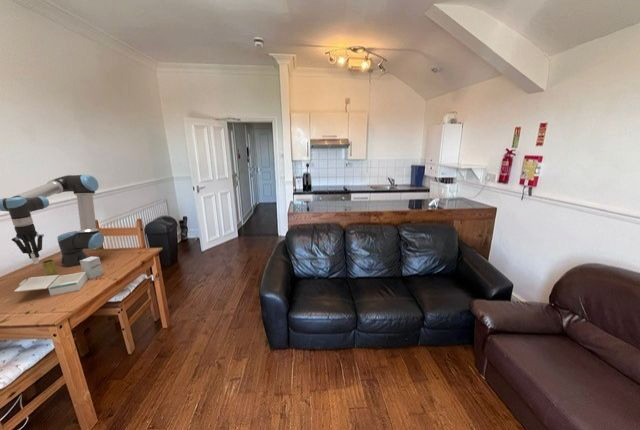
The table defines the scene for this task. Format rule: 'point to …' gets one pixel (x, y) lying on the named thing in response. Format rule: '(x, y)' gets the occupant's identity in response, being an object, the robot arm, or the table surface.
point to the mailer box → (68, 283)
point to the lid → (36, 283)
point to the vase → (50, 268)
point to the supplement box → (91, 267)
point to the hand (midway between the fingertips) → (36, 263)
